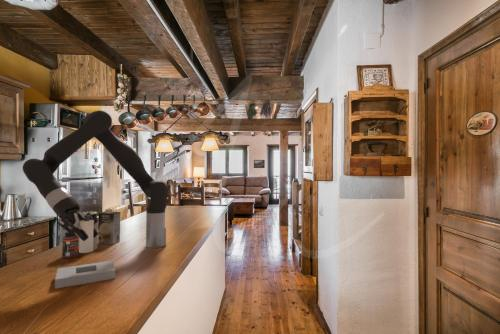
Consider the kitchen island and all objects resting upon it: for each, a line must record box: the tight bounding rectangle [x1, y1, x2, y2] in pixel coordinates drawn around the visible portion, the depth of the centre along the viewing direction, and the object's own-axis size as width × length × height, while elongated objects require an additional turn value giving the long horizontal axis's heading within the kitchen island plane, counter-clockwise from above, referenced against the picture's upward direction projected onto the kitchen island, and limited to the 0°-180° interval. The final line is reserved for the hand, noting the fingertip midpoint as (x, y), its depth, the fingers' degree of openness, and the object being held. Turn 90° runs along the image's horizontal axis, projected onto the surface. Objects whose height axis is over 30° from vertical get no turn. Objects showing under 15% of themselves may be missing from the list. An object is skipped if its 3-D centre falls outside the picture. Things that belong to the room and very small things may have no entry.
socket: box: [54, 260, 116, 290], centre depth 103 cm, size 18×12×3 cm, turn 121°
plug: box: [78, 215, 94, 254], centre depth 103 cm, size 4×4×13 cm
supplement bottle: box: [61, 230, 79, 259], centre depth 127 cm, size 6×6×11 cm
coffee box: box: [97, 210, 121, 245], centre depth 152 cm, size 9×6×16 cm
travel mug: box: [78, 211, 99, 252], centre depth 137 cm, size 8×8×18 cm
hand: (91, 237), depth 103 cm, fingers closed on plug, 4 cm apart
